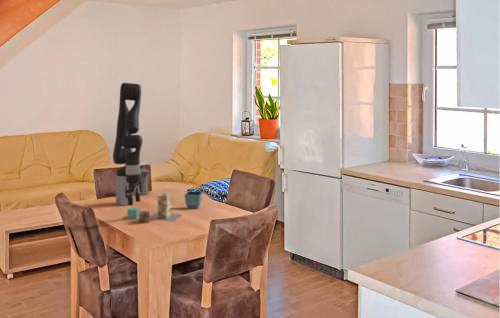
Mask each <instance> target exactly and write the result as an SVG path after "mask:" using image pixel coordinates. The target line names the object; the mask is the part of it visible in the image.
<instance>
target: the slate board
mask: <svg viewBox="0 0 500 318" xmlns="http://www.w3.org/2000/svg"><path fill="white" fill-rule="evenodd" d="M182 216H183V214H178V213H170V217H168V218H158V212H154V213H153V214H150V221H151V220H152V221H163V222H164V221H166V222H174V221H176V220H177V219H180V217H182Z"/></svg>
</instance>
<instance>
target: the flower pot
mask: <svg viewBox="0 0 500 318" xmlns="http://www.w3.org/2000/svg"><path fill="white" fill-rule="evenodd" d="M184 199H185V205H186V207H187V209H188V210H198V209H200V206H201V204H202V201H203V200H202V199H203V192H202V191H187V192H185V194H184Z"/></svg>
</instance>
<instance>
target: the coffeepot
mask: <svg viewBox="0 0 500 318" xmlns="http://www.w3.org/2000/svg"><path fill="white" fill-rule="evenodd" d="M140 173H141V181H140V182H141V185H142V193H140V196H146V195H149V193H150V192H149V187H148V183H147V181H148V178H149V177H148V176H149V170H148V169H145V168H143V166H142V165H140ZM139 189H140V188H139ZM134 195H136V194H135V193H134Z"/></svg>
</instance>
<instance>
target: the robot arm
mask: <svg viewBox="0 0 500 318" xmlns="http://www.w3.org/2000/svg"><path fill="white" fill-rule="evenodd" d="M141 100H142V87H141V85H140V84H139V83H131V82H130V83H129V82H122V84H121V85H120V89H119V107H118V116H117V120H116V121H117V122H116V137H115V142H114V146H113V153H112V160H113V163H114V164H116V165H124V166H123V167H121V168H119V169H117V170H116V172H115V173H116V188H115V205H119V206H133V205H134V195H135V194H136V195H135V202H136V203H137V202H138V203H140V202H141V195H140V193H142V185H141V182H140V181H141V173H140V166H141V165H140V164H141V163H140V162H141V161H140V159H141V158H140V154H141V149H142V145H143V137H142V135H139V134H137V133H138V132H139V129H140V128H139V127H140V126H139V125H140V122H139V121H140V118H139V116H140V110H141V109H140V108H141V102H142V101H141ZM126 101H134V104H133V105H132V107H131V108H130V110H129V108H128V105H127V102H126ZM133 149H135V150H134V151H133ZM139 188H140V189H139ZM134 193H135V194H134Z"/></svg>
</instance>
